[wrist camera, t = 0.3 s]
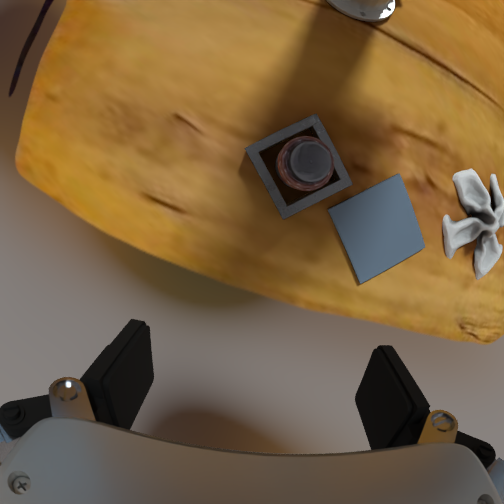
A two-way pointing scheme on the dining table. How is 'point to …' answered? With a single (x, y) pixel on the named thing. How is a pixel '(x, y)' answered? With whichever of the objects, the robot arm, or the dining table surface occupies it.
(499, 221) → the cloth
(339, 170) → the collar
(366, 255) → the board
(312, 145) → the supplement bottle
